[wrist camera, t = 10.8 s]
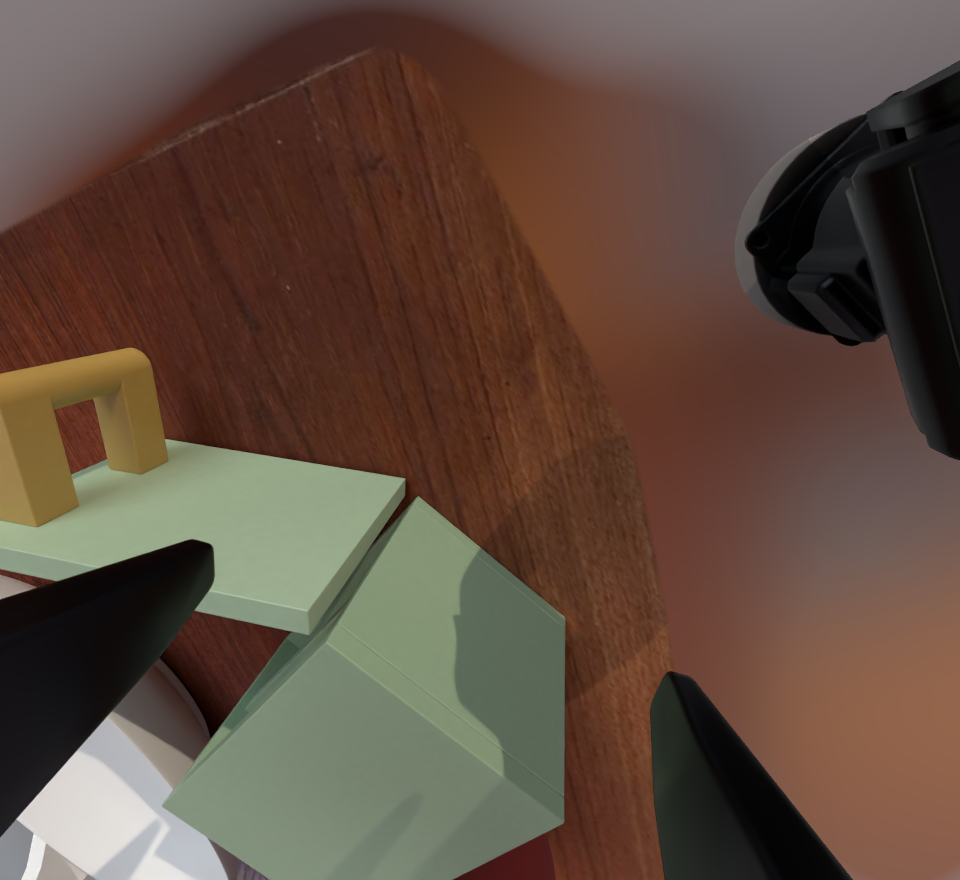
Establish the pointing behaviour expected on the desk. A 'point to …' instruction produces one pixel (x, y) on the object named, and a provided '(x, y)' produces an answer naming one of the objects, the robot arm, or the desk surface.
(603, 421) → the desk surface
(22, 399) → the door
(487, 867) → the mug
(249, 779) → the cupboard
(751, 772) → the robot arm
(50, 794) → the bowl
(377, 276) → the desk surface
